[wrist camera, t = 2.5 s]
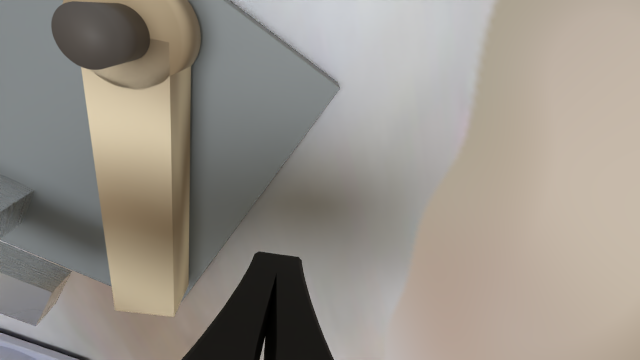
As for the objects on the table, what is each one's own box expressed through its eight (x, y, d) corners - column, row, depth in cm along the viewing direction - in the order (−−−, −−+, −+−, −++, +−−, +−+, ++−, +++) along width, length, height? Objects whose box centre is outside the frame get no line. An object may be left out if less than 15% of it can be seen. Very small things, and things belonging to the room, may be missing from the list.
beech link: (96, -38, 9) (-7, -61, 6) (201, -15, 10) (152, -26, 7) (129, 278, 15) (83, 344, 12) (194, 286, 15) (166, 352, 12)
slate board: (180, 297, 17) (173, 312, 17) (-51, 196, 14) (-76, 208, 13) (337, 82, 12) (339, 88, 11) (32, -150, 9) (1, -167, 8)
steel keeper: (97, 255, 15) (35, 326, 11) (-31, 199, 13) (-143, 262, 10) (112, 227, 14) (51, 292, 11) (-21, 163, 12) (-139, 218, 9)
